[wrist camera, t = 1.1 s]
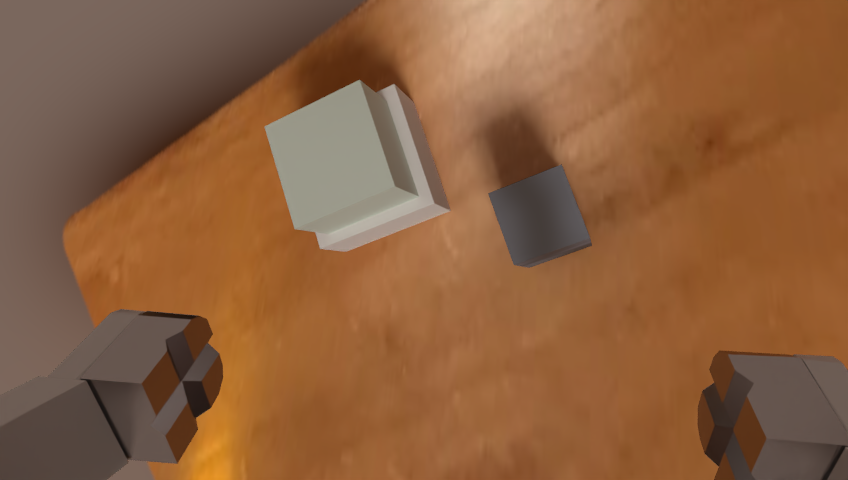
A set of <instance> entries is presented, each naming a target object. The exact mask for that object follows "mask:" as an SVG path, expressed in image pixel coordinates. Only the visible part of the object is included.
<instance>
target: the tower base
mask: <svg viewBox="0 0 848 480" xmlns="http://www.w3.org/2000/svg"><path fill="white" fill-rule="evenodd" d="M376 93H377V94H378V95H379V96H381V97H382V98H383V99H384V100H386V101H387V103H388V106H389V109H390V112H391V115H392V118H393V121H394V124H395V127H396V130H397V133H398V136H399V139H400V142H401V145H402V148H403V151H404V154H405V157H406V159H407V162H408V165H409V168H410V171H411V174H412V177H413V180H414V183H415V186H416V189H417V192H418V195H419V197H417V198H415V199H412V200H410V201H407V202H405V203H403V204H400V205H398V206H395V207H393V208H391V209H388V210H386V211H383V212H381V213H378V214H376V215H374V216H371V217H369V218H366V219H364V220H361V221H359V222H357V223H354V224H352V225H349V226H347V227H344V228H342V229H340V230H337V231H335V232H332V233H330V234H325V233H318V232H315V233H316V236H317V240H318V243H319V246H320V249H326V250H336V251H349V250H352V249H354V248H357V247H359V246H362V245H364V244H367V243H370V242H372V241H375V240H377V239H380V238H382V237H385V236H387V235H390V234H393V233H395V232H398V231H400V230H403V229H405V228H408V227H410V226H413V225H416V224H418V223H421V222H423V221H426V220H428V219H431V218H433V217H436V216H439V215H441V214H444V213H446V212H449V211H451V210H450V207H449V204H448V201H447V198H446V195H445V192H444V189H443V186H442V184H441V181H440V178H439V175H438V172H437V169H436V166H435V163H434V160H433V157H432V154H431V151H430V148H429V145H428V142H427V139H426V136H425V134H424V131H423V128H422V125H421V122H420V119H419V116H418V113H417V110H416V107H415V104H414V102H413V101H412V100H411V99H410V98H409V97H408V96H407V95H406V94H404V93H403V92H402V91H401V90H400V89H399V88H398V87H397V86H396V85H395V84H393V85H391V86H389V87H387V88H384V89H382V90H380V91H378V92H376Z"/></svg>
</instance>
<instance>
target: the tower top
mask: <svg viewBox="0 0 848 480" xmlns="http://www.w3.org/2000/svg"><path fill="white" fill-rule="evenodd" d="M265 130H266V133H267V137H268V140H269V143H270V147H271V150H272V153H273V157H274V160H275V164H276V167H277V170H278V174H279V177H280V181H281V184H282V187H283V191H284V194H285V198H286V201H287V204H288V208H289V211H290V214H291V218H292V221H293V225H294V228H295V229H298V230H305V231H311V232H318V233H325V234H330V233H332V232H335V231H337V230H340V229H342V228H344V227H347V226H349V225H352V224H354V223H357V222H359V221H361V220H364V219H366V218H369V217H371V216H374V215H376V214H378V213H381V212H383V211H386V210H388V209H391V208H393V207H395V206H398V205H400V204H403V203H405V202H407V201H410V200H412V199H415V198H417V197H419V195H418V192H417V189H416V186H415V183H414V180H413V177H412V174H411V171H410V168H409V165H408V162H407V159H406V157H405V154H404V151H403V148H402V145H401V142H400V139H399V136H398V133H397V130H396V127H395V124H394V121H393V118H392V115H391V112H390V109H389V106H388V103H387V101H386V100H384V99H383V98H382V97H381V96H379V95H378V94H377V93H376V92H374V91H373V90H372V89H371V88H370V87H368V86H367V85H366V84H365V83H363V82H362V81H361V80H358V81H356V82H354V83H352V84H350V85H348V86H346V87H344V88H342V89H340V90H338V91H335V92H333V93H331V94H329V95H327V96H325V97H323V98H321V99H319V100H317V101H315V102H313V103H311V104H309V105H307V106H305V107H303V108H301V109H299V110H297V111H295V112H293V113H291V114H289V115H287V116H285V117H283V118H281V119H279V120H277V121H275V122H273V123H271V124H269V125H267V126H265Z"/></svg>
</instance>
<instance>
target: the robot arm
mask: <svg viewBox="0 0 848 480" xmlns="http://www.w3.org/2000/svg"><path fill="white" fill-rule="evenodd" d="M212 335H213V333H212V331H211V328H210V325H209V323H208V320H207V319H206V318H203V317H201V316H195V315H184V314H173V313H163V312H152V311H146V312H144V311H134V310H124V309H120V310H117V311H115V312H112V313H110V314H109V315H108V316H107V317H106V318H105V319H104V320H103V321H102V322H101V323H100V324H99V325H98V326H97V327H96V328H95V329H94V330H93V331H92V332H91V333H90V334H89V335H88V337H86V338H85V339H84V341H82V342H81V343H80V345H79V346H78V347H77V348H76V349H75V350H74V351H73V352H72V353H71V354H70V355H69V356H68V357H67V358H66V359H65V360H64V361H63V362H62V363H61V364H60V365H59V366H58V367H57V368H56V369H55V370H54V371H53V372H52V373H51V374H50V375H49V376H48V377H39V376H38V377H36V378H34V379H32V380H30V381H28V382H26V383H24V384H22V385H20V386H18V387H16V388H14V389H12V390H10V391H8V392H6V393H4V394H2V395H0V480H107V479H108V478H110V477H111V476H112V475H113V474H115V473H116V472H117V471H119V470H120V469H121V468H122V467H124V466H125V465H126V464H127V463H128V460H138V461H151V462H163V463H176V464H177V463H178V462H179V460H180V458H181V457H182V455H183V453H184V452H185V450H186V448H187V447H188V445H189V443H190V442H191V440H192V438H193V437H194V435H195V433H196V432H197V430H198V427H197V421H196V417H198V416H199V415H201V414H202V413H204V412H205V411H207V410H208V409H210V408H211V407H212V405H213V403H214V402H215V400H216V398H217V396H218V394H219V391H220V387H221V383H222V379H223V365H222V361H221V358H220V355H219V353H218V352H217V351H216V350H215V349H214V348H213V347H211V346H210V345H209V344H208V342H209V340H210V338H211V336H212ZM709 370H710V373H711V375H712V378H713V380H714V383H713V384H712V385H710V386H709V387H707V388H706V389H704V390H703V391H702V394H701V397H700V401H699V405H698V430H699V436H700V440H701V444H702V447H703V450H704V453H705V454H706V455H707V456H708V457H709V458H710V459H711V460H712V461H713V462H714V463H715V464H717V465H718V466H719V468H718V471H717V473H716V476H715V479H714V480H848V370H847V369H846V368H845V366H844V365H843V363H842V362H841V361H839V360H838V359H836V358H834V357H833V356H814V355H795V354H794V355H786V354H770V353H753V352H736V351H718V353H717V354H716V355H715V356H714V357H713V360H712V363H711V366H710V369H709Z"/></svg>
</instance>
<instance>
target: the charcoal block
mask: <svg viewBox="0 0 848 480" xmlns="http://www.w3.org/2000/svg"><path fill="white" fill-rule="evenodd" d="M488 194H489V197H490V200H491V202H492V205H493V208H494V211H495V214H496V216H497V219H498V222H499V225H500V228H501V230H502V233H503V236H504V239H505V241H506V244H507V247H508V250H509V253H510V255H511V258H512V261H513V264H514V265H517V266H523V267H532V266H535V265H538V264H541V263H544V262H547V261H549V260H552V259H555V258H558V257H561V256H564V255H566V254H569V253H572V252H575V251H578V250H581V249H584V248H586V247H589V246H592V244H591V240H590V237H589V234H588V231H587V229H586V226H585V224H584V221H583V219H582V216H581V213H580V211H579V208H578V206H577V203H576V201H575V198H574V195H573V193H572V190H571V188H570V185H569V182H568V180H567V177H566V175H565V172H564V170H563V167H562V164H561V165H559V166H556V167H554V168H551V169H549V170H546V171H544V172H541V173H539V174H536V175H534V176H531V177H529V178H526V179H524V180H521V181H519V182H516V183H514V184H511V185H509V186H506V187H503V188H501V189H498V190H496V191H493V192H491V193H488Z"/></svg>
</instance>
